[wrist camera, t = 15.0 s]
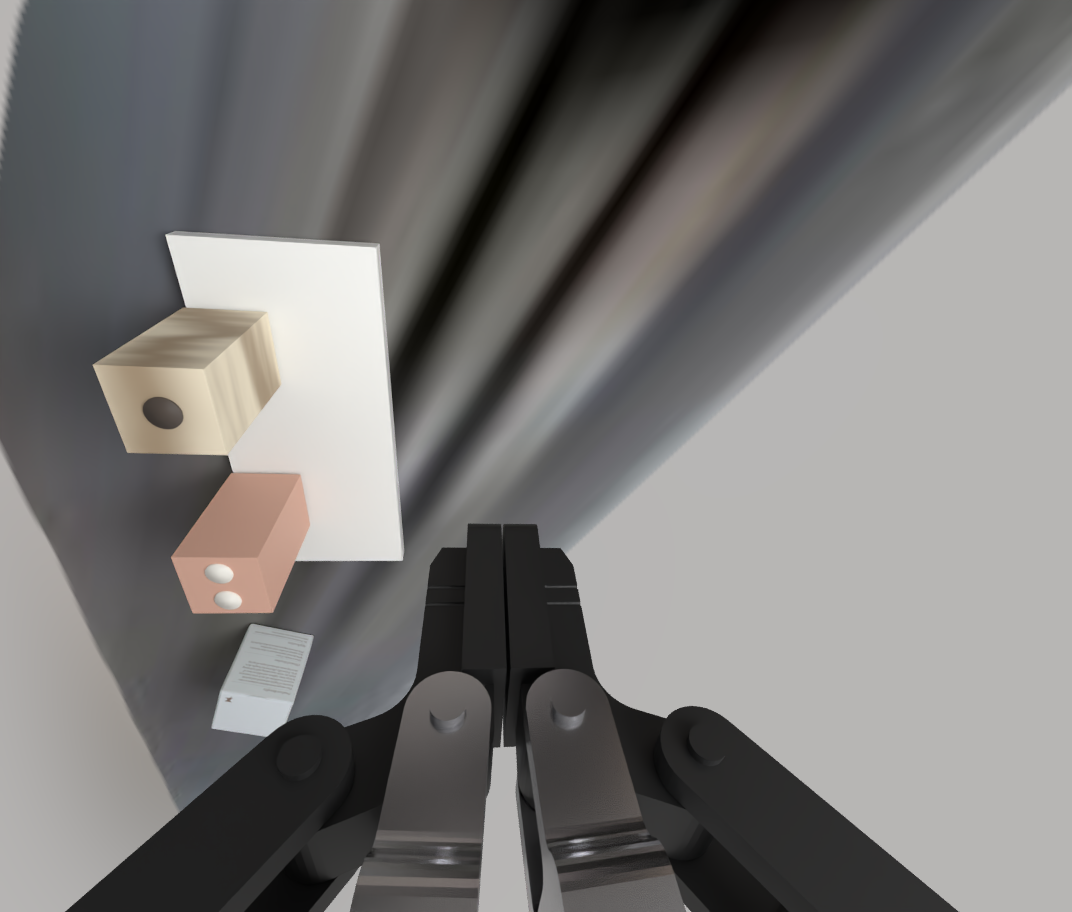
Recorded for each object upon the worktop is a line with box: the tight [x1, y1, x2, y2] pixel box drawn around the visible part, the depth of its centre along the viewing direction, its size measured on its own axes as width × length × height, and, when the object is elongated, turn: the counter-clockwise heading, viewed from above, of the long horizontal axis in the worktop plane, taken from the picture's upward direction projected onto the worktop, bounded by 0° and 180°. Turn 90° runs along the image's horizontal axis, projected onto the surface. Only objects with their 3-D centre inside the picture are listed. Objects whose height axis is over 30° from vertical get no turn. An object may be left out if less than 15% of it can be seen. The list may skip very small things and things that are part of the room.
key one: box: [93, 308, 281, 455], centre depth 31 cm, size 5×5×9 cm
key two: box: [171, 473, 310, 613], centre depth 37 cm, size 5×5×9 cm
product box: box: [211, 624, 314, 737], centre depth 49 cm, size 6×6×7 cm
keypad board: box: [166, 231, 404, 561], centre depth 39 cm, size 26×12×1 cm, turn 176°
